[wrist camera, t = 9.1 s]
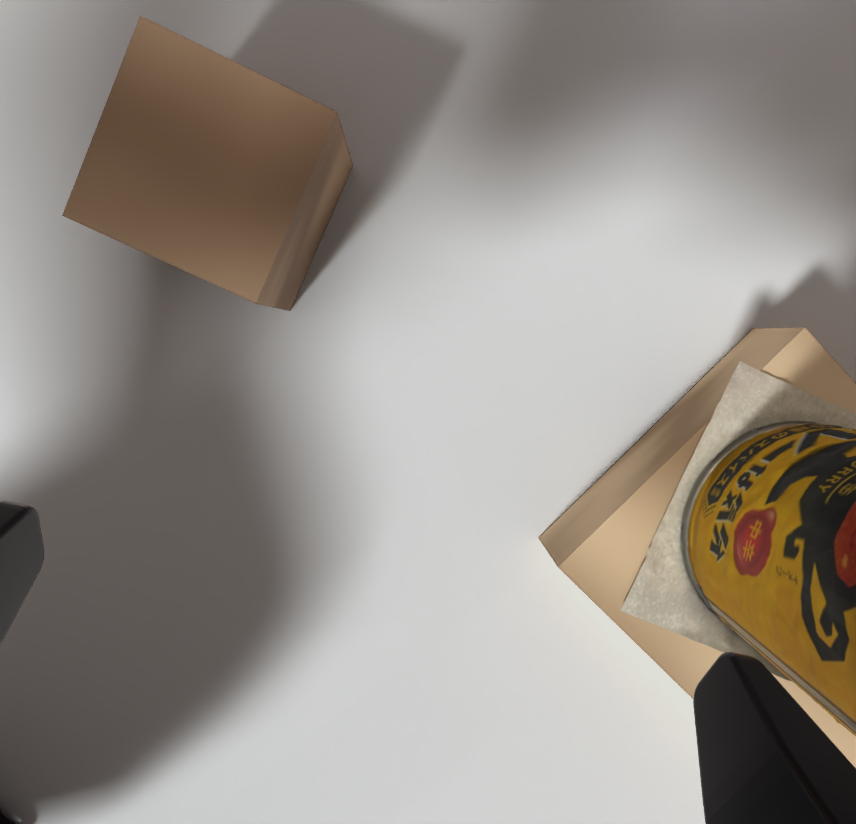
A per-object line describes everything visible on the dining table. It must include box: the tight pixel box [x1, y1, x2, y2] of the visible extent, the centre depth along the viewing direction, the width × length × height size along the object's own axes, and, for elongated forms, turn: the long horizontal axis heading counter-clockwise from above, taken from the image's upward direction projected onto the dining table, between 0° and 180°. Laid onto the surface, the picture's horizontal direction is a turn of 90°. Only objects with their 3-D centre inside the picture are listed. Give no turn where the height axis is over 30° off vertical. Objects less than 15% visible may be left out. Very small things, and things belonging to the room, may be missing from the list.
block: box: [62, 16, 353, 311], centre depth 16 cm, size 4×4×4 cm
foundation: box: [539, 327, 856, 768], centre depth 18 cm, size 9×14×6 cm, turn 45°
